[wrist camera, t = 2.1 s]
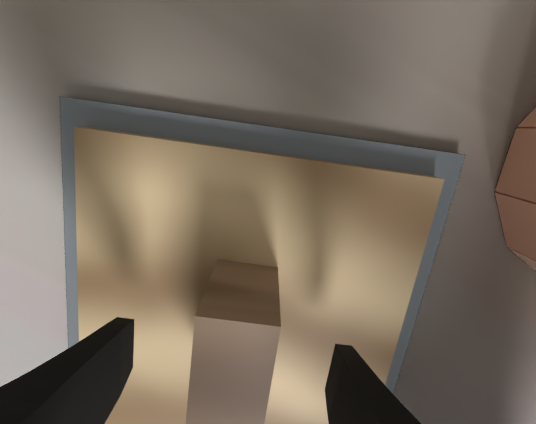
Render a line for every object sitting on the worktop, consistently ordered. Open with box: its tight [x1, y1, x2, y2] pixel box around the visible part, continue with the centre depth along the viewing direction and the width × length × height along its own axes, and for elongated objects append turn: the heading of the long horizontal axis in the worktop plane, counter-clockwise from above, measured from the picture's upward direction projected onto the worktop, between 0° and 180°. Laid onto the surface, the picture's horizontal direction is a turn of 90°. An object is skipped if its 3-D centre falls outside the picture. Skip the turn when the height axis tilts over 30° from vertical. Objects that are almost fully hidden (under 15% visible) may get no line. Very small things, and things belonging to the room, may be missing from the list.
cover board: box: [74, 127, 445, 424], centre depth 12 cm, size 14×14×5 cm
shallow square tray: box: [60, 96, 465, 394], centre depth 15 cm, size 16×16×1 cm
